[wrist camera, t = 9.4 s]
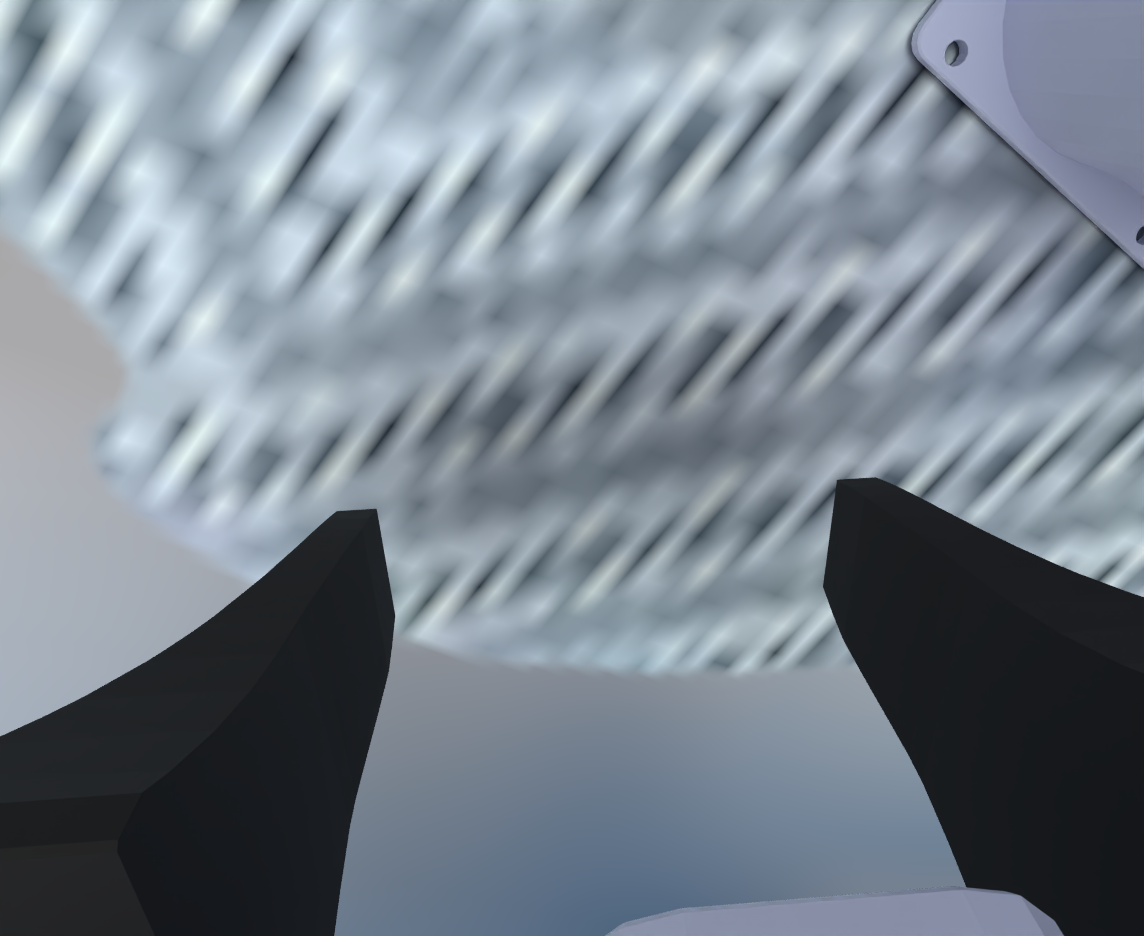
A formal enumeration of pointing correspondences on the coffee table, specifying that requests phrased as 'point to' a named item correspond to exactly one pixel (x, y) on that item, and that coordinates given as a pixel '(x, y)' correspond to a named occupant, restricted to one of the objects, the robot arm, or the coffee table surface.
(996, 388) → the coffee table surface
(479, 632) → the coffee table surface
